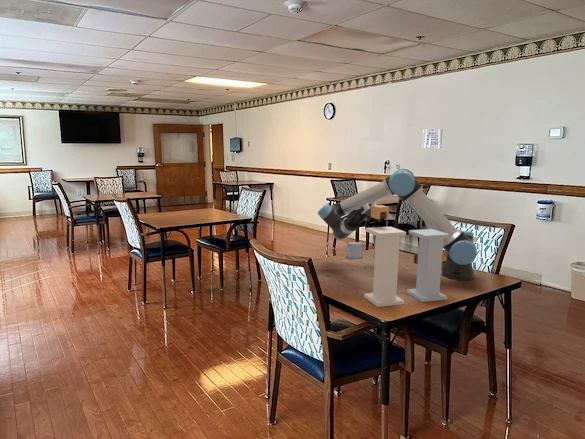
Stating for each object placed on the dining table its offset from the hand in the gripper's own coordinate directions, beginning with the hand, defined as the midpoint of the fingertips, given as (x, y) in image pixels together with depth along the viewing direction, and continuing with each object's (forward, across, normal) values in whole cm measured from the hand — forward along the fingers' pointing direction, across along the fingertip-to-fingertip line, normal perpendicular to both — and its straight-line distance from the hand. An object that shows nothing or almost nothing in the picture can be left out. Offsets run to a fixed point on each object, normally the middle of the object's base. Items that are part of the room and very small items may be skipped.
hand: (371, 205), depth 188 cm
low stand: (-8, -21, -39) cm, 45 cm away
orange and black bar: (-1, 0, -4) cm, 4 cm away
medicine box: (-66, -20, -6) cm, 69 cm away
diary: (-45, -60, -19) cm, 78 cm away
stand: (-9, 0, -39) cm, 40 cm away
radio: (-65, -40, -7) cm, 76 cm away
